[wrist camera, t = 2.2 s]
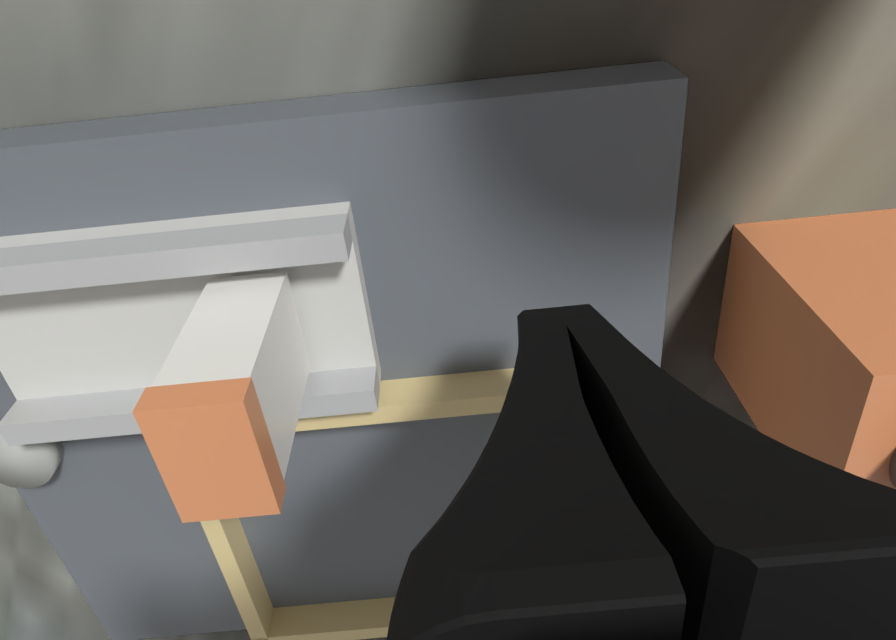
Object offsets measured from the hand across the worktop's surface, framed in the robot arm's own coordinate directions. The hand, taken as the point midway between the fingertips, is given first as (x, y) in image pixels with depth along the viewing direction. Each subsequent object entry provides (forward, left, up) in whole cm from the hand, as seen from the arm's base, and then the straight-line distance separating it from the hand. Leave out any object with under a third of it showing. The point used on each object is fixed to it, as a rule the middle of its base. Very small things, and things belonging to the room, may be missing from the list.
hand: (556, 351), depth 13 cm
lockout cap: (-2, -7, -4) cm, 9 cm away
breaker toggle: (0, +6, -2) cm, 6 cm away
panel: (-4, +5, -4) cm, 8 cm away
